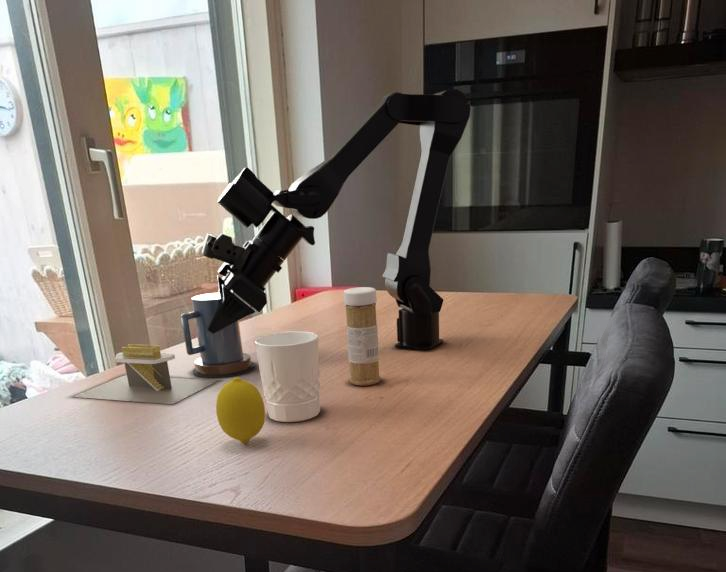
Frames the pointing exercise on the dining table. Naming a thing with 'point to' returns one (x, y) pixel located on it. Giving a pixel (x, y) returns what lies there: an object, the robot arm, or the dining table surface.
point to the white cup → (290, 374)
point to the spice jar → (362, 335)
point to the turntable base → (224, 375)
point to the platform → (146, 379)
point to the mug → (214, 339)
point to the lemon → (240, 410)
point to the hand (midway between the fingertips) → (208, 327)
